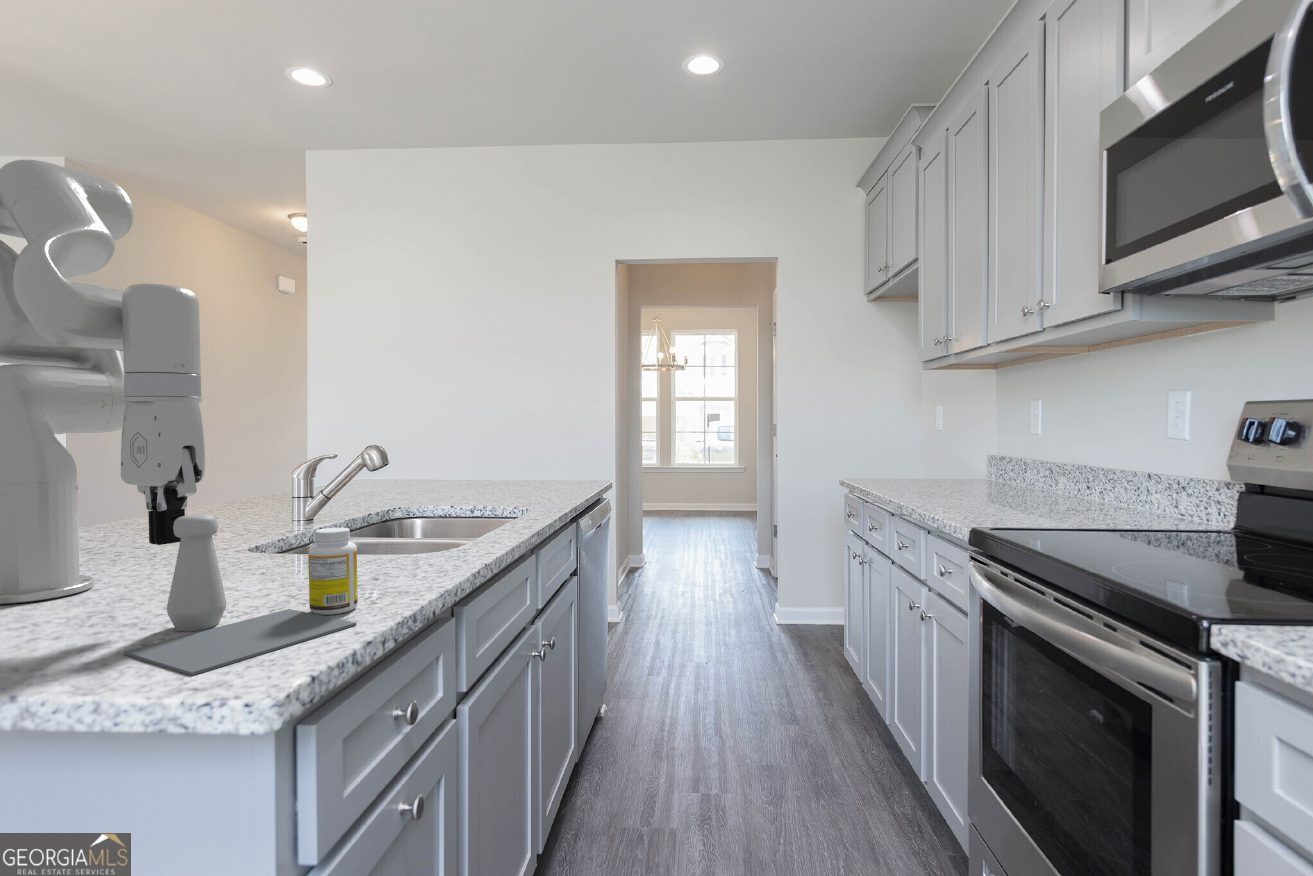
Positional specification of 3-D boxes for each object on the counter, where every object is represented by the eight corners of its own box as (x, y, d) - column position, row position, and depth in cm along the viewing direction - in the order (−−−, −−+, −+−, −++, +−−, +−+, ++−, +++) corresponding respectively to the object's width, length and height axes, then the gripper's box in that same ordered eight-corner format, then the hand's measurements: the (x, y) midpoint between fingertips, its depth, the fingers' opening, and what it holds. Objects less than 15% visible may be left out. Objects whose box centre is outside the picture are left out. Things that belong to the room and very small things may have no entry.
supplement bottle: (334, 602, 91) (333, 525, 90) (367, 606, 88) (366, 527, 88) (298, 613, 85) (297, 531, 85) (332, 618, 83) (331, 534, 83)
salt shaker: (196, 635, 77) (194, 519, 76) (153, 632, 78) (151, 518, 77) (238, 620, 82) (236, 512, 82) (197, 617, 84) (195, 511, 83)
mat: (123, 654, 71) (123, 651, 71) (289, 611, 86) (289, 608, 86) (192, 675, 65) (192, 672, 65) (356, 625, 80) (356, 622, 80)
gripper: (95, 391, 83) (99, 543, 83) (163, 387, 75) (167, 553, 76) (164, 393, 89) (167, 534, 90) (232, 389, 82) (235, 542, 83)
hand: (167, 542), depth 83 cm, fingers closed
